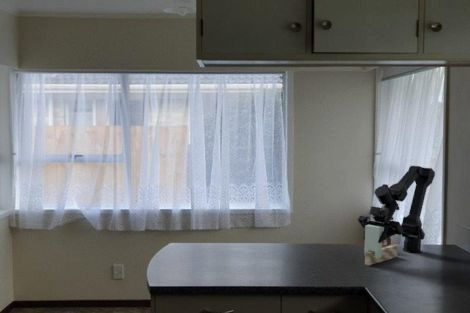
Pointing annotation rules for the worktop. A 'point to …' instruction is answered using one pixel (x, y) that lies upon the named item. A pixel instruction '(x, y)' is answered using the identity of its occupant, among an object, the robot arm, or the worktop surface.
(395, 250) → the beige long bar piece
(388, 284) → the worktop surface
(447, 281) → the worktop surface
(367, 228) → the sage block
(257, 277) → the worktop surface
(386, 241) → the tin
